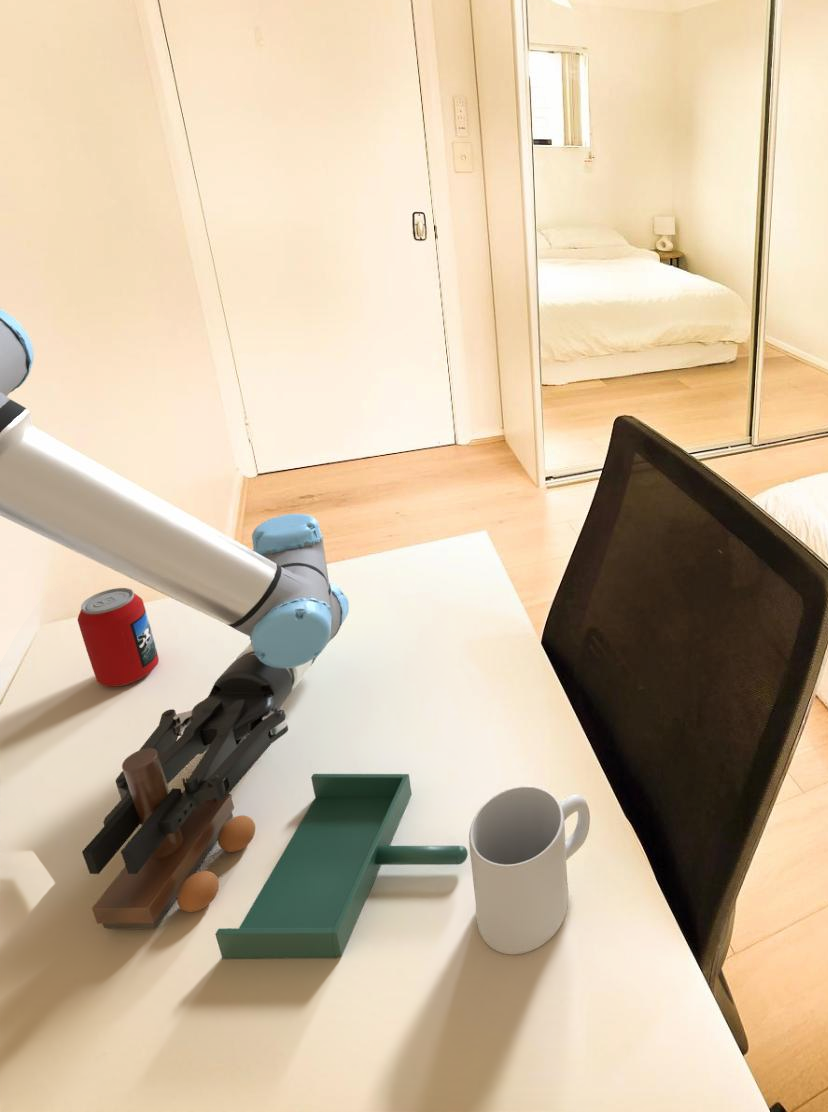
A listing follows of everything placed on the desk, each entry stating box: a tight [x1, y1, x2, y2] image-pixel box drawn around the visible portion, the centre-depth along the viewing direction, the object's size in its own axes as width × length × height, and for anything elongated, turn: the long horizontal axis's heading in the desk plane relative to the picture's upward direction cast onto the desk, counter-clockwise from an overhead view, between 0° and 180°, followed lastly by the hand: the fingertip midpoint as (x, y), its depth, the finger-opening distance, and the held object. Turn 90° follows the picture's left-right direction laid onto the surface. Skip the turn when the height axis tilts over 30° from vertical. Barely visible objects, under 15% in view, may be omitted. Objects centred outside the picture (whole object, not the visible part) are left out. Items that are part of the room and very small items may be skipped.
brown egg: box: [176, 870, 220, 913], centre depth 65 cm, size 3×3×3 cm
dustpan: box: [214, 773, 469, 960], centre depth 69 cm, size 19×17×3 cm
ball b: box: [217, 815, 256, 853], centre depth 71 cm, size 3×3×3 cm
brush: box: [91, 748, 235, 930], centre depth 66 cm, size 5×12×14 cm, turn 2°
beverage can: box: [77, 587, 160, 687], centre depth 92 cm, size 7×7×12 cm
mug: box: [468, 785, 591, 955], centre depth 65 cm, size 12×8×11 cm
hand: (110, 862), depth 60 cm, fingers closed on brush, 3 cm apart
